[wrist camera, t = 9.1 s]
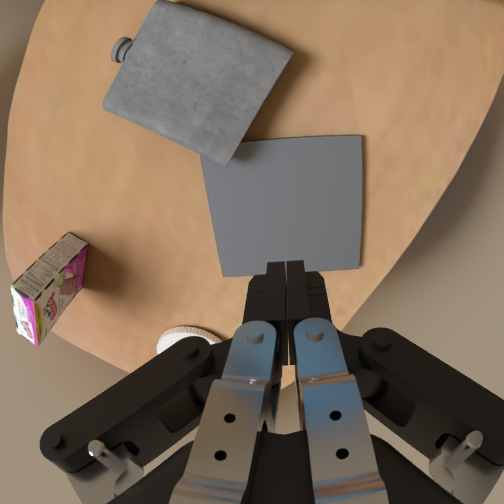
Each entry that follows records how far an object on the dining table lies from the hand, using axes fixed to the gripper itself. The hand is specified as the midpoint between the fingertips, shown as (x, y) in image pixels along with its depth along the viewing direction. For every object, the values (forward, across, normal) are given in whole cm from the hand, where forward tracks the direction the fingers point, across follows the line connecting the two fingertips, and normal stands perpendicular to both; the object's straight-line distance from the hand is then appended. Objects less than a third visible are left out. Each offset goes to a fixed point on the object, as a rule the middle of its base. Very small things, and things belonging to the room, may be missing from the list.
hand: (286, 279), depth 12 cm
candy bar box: (+27, +37, +13) cm, 47 cm away
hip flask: (+25, +2, -6) cm, 26 cm away
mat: (+27, 0, +8) cm, 28 cm away
